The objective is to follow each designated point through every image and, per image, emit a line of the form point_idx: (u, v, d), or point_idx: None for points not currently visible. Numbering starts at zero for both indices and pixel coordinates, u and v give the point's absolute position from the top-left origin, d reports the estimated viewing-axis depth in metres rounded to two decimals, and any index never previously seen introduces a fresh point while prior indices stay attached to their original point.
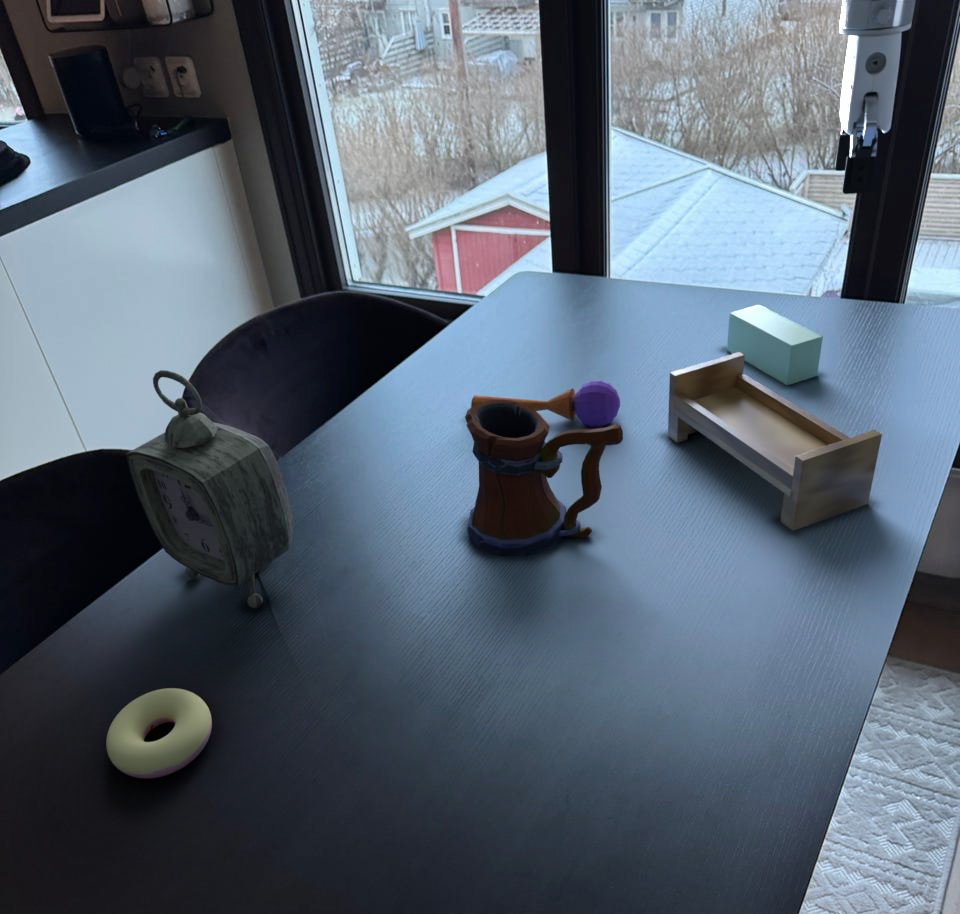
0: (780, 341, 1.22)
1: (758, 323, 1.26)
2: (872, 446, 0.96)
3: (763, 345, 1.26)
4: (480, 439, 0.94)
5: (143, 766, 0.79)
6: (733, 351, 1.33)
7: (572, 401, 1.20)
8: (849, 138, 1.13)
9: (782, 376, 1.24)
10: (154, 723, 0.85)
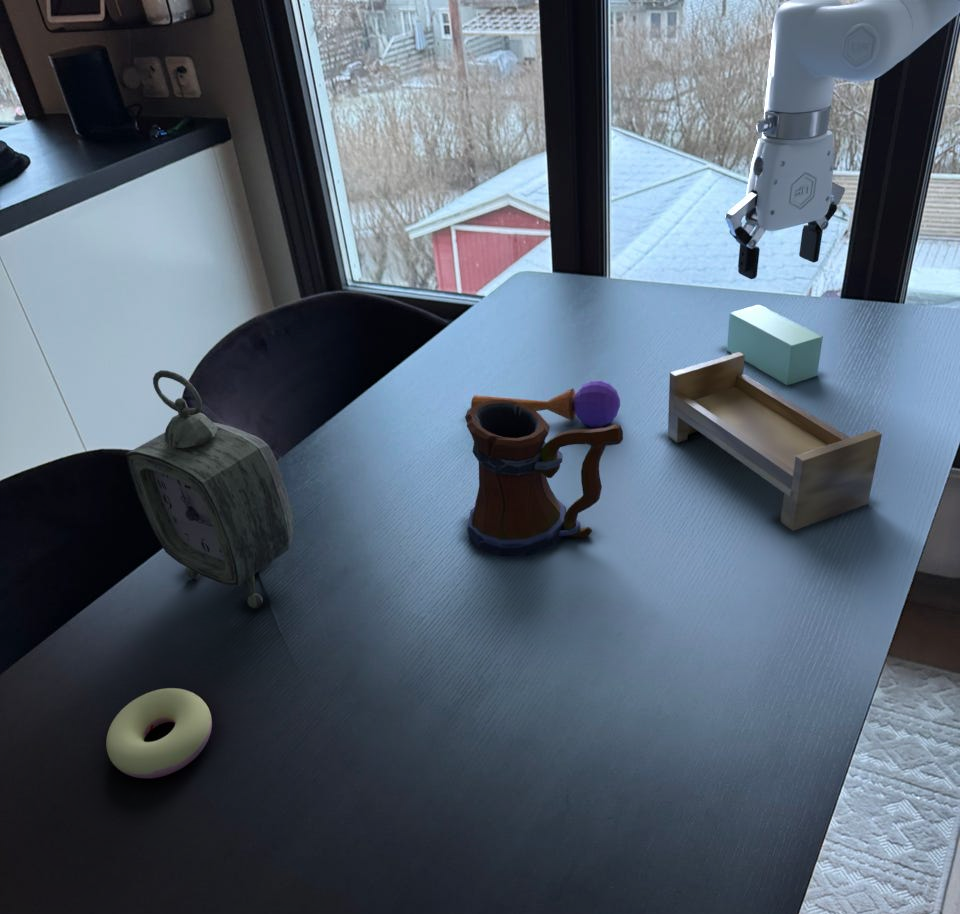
0: (780, 341, 1.22)
1: (758, 323, 1.26)
2: (872, 446, 0.96)
3: (763, 345, 1.26)
4: (480, 439, 0.94)
5: (143, 766, 0.79)
6: (733, 351, 1.33)
7: (572, 401, 1.20)
8: (807, 230, 1.20)
9: (782, 376, 1.24)
10: (154, 723, 0.85)
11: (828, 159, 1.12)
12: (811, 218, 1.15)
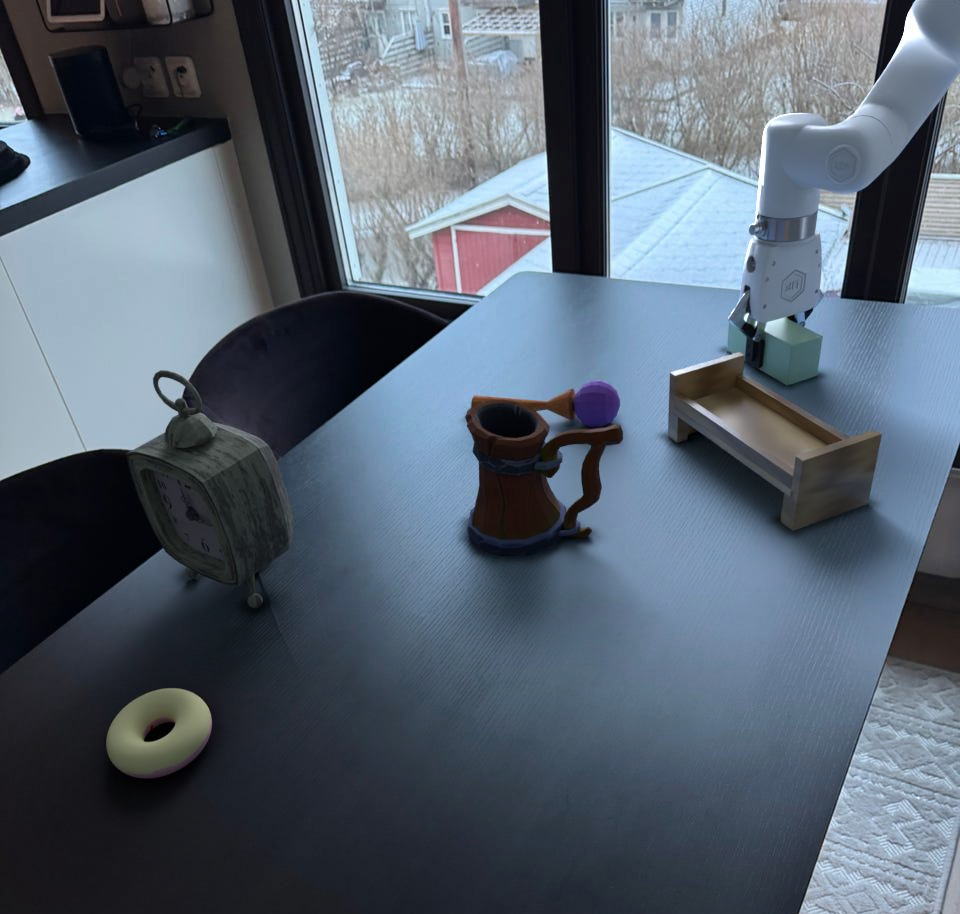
0: (780, 341, 1.22)
1: None
2: (872, 446, 0.96)
3: None
4: (481, 439, 0.94)
5: (143, 766, 0.79)
6: (733, 351, 1.33)
7: (572, 401, 1.20)
8: None
9: (782, 376, 1.24)
10: (154, 723, 0.85)
11: (816, 257, 1.19)
12: (801, 309, 1.23)
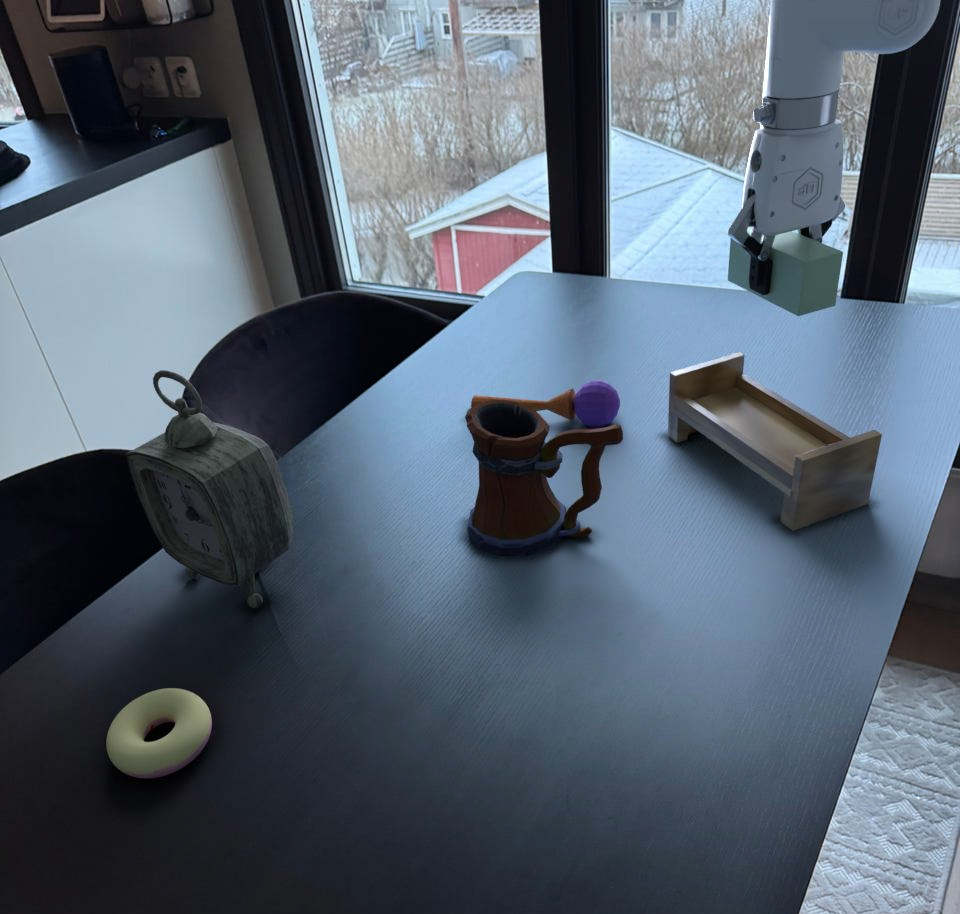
0: (790, 258, 1.00)
1: None
2: (872, 446, 0.96)
3: None
4: (480, 439, 0.94)
5: (143, 766, 0.79)
6: (735, 277, 1.11)
7: (572, 401, 1.20)
8: None
9: (793, 302, 1.02)
10: (154, 723, 0.85)
11: (837, 152, 0.97)
12: (818, 220, 1.01)
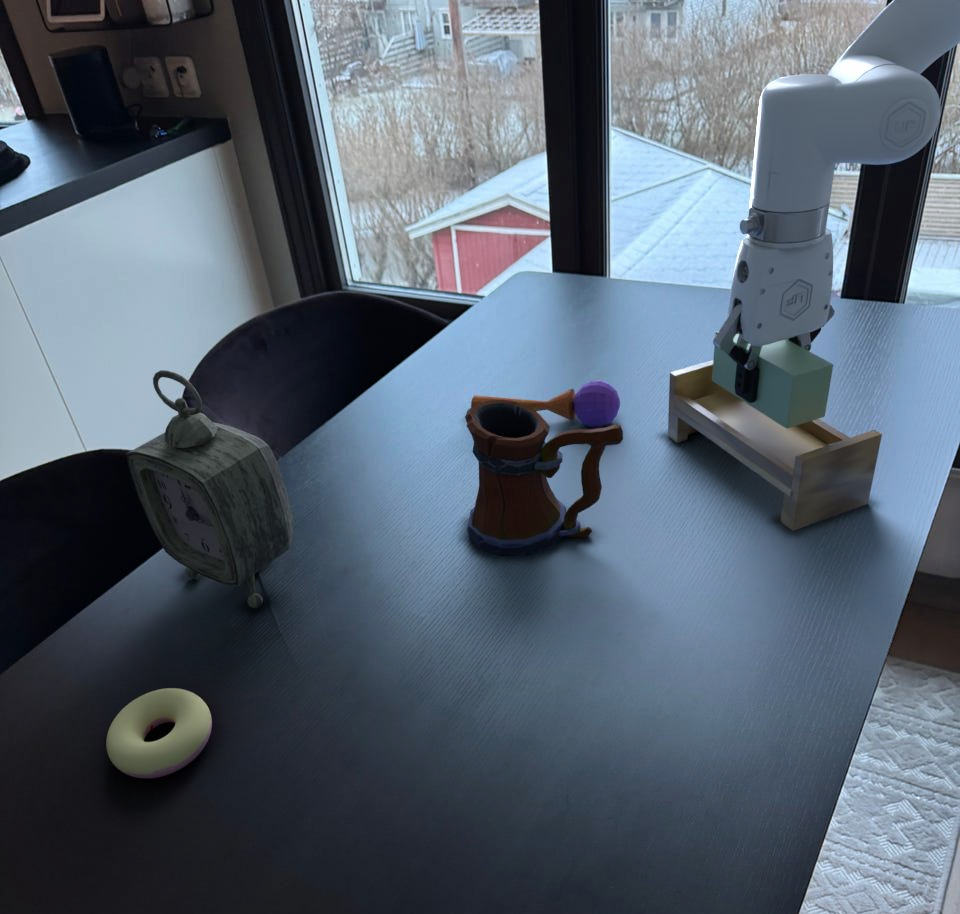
0: (778, 369, 0.96)
1: None
2: (872, 446, 0.96)
3: None
4: (480, 439, 0.94)
5: (143, 766, 0.79)
6: (720, 379, 1.06)
7: (572, 401, 1.20)
8: None
9: (782, 414, 0.97)
10: (154, 723, 0.85)
11: (827, 263, 0.92)
12: (807, 329, 0.96)
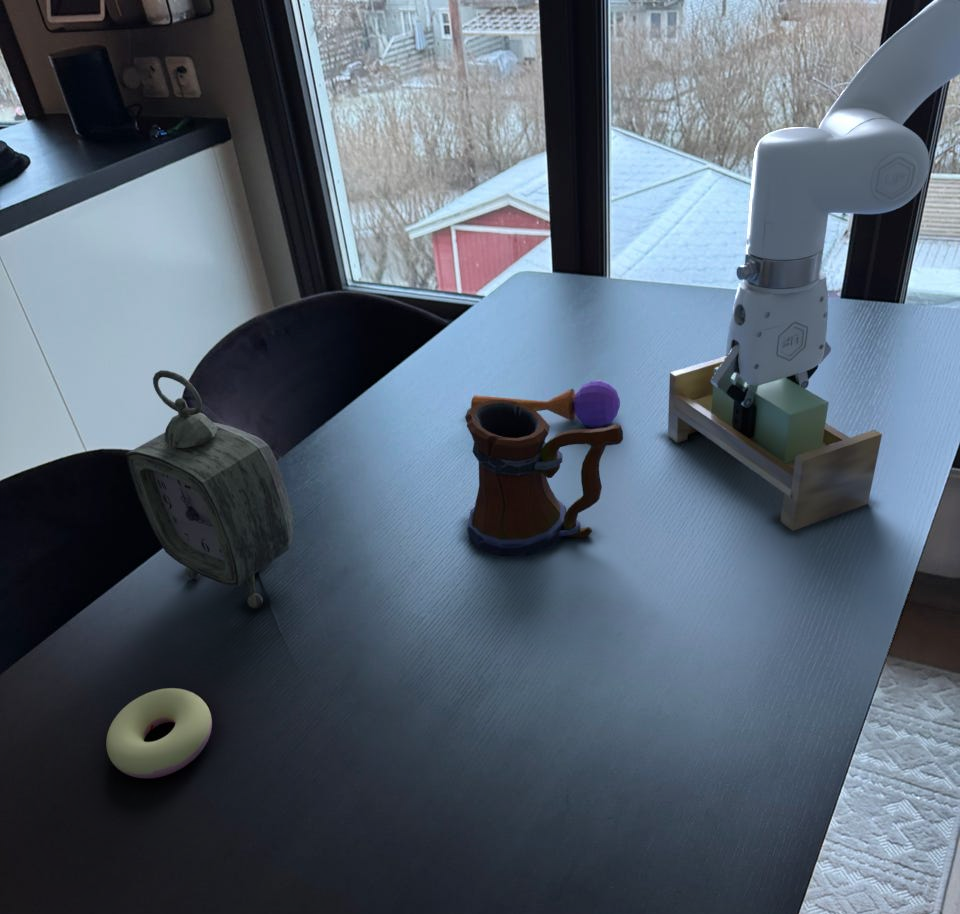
0: (775, 407, 0.98)
1: None
2: (872, 446, 0.96)
3: None
4: (480, 439, 0.94)
5: (143, 766, 0.79)
6: (719, 414, 1.09)
7: (572, 402, 1.20)
8: None
9: (779, 450, 1.00)
10: (154, 723, 0.85)
11: (821, 305, 0.95)
12: (803, 369, 0.99)
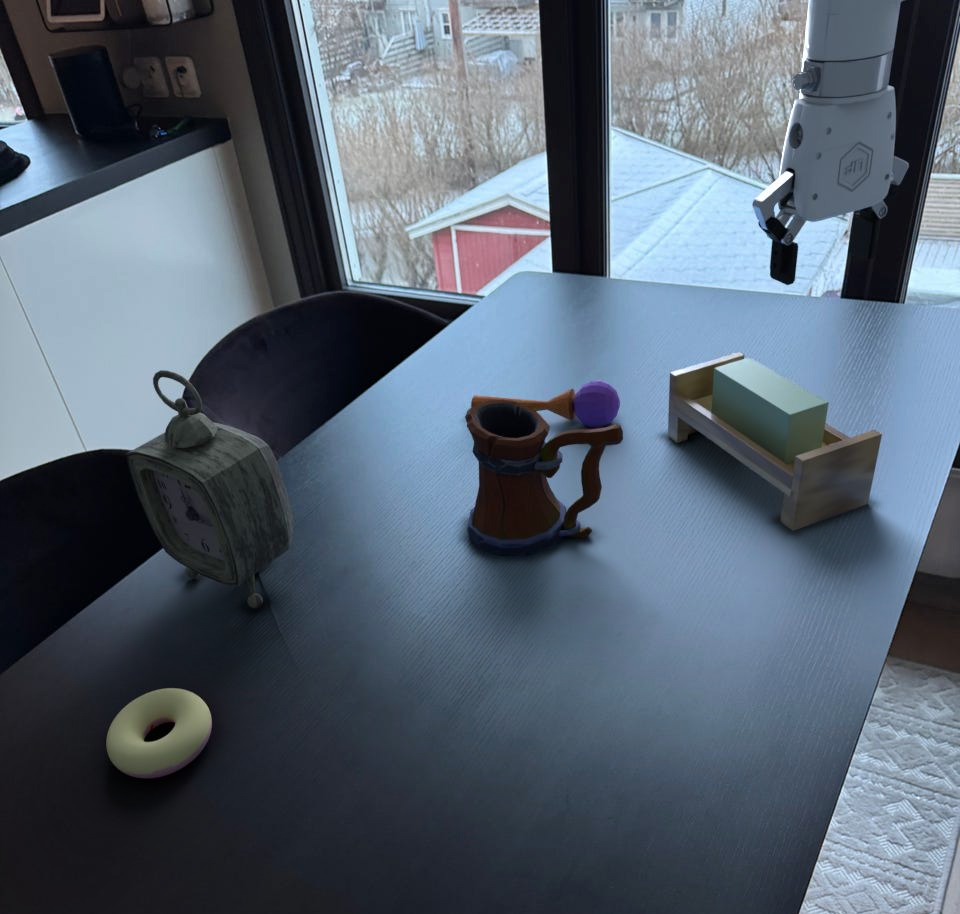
0: (775, 407, 0.98)
1: (748, 383, 1.03)
2: (872, 446, 0.96)
3: (755, 410, 1.02)
4: (480, 439, 0.94)
5: (143, 766, 0.79)
6: (719, 414, 1.09)
7: (572, 402, 1.20)
8: (859, 219, 0.92)
9: (779, 450, 1.00)
10: (154, 723, 0.85)
11: (889, 123, 0.84)
12: (866, 203, 0.88)
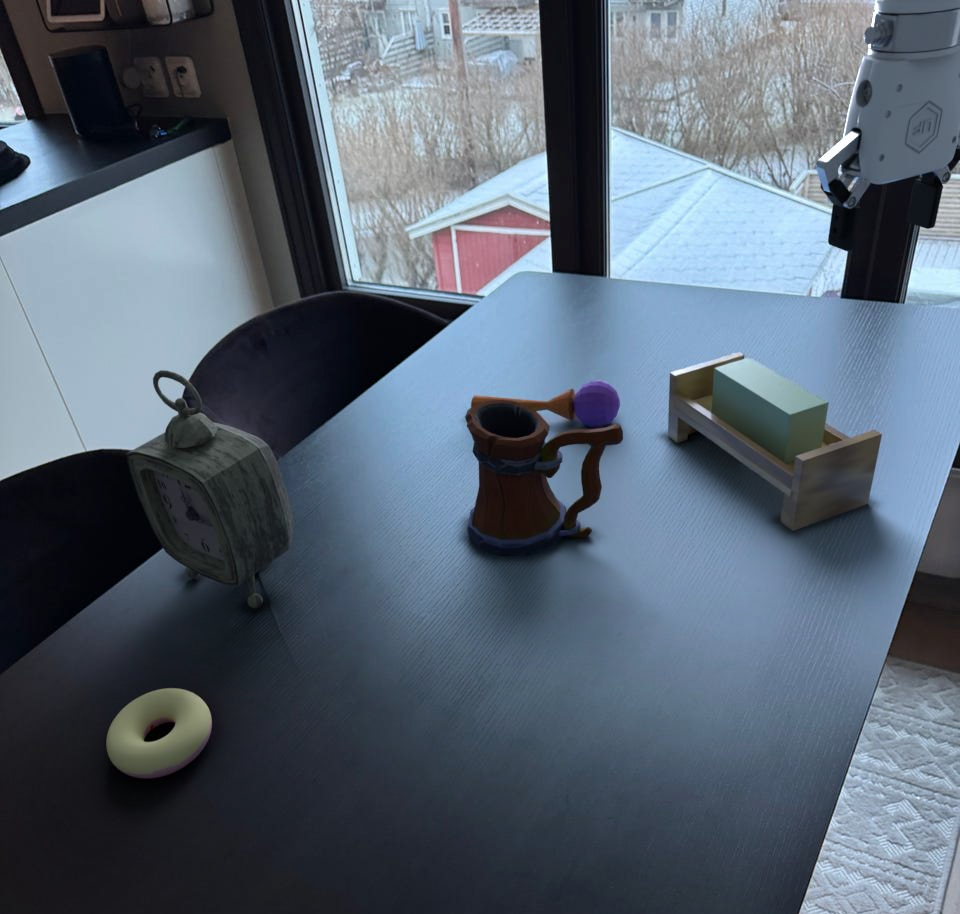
0: (775, 407, 0.98)
1: (748, 383, 1.03)
2: (872, 446, 0.96)
3: (755, 410, 1.02)
4: (480, 439, 0.94)
5: (143, 766, 0.79)
6: (719, 414, 1.09)
7: (572, 402, 1.20)
8: (921, 185, 0.90)
9: (779, 450, 1.00)
10: (154, 723, 0.85)
11: None
12: (932, 166, 0.85)
